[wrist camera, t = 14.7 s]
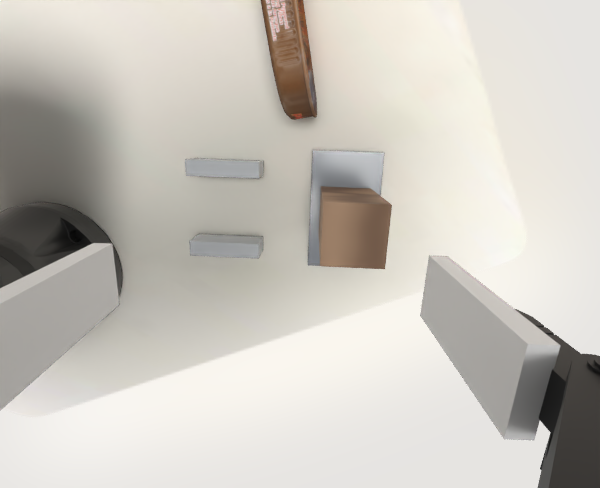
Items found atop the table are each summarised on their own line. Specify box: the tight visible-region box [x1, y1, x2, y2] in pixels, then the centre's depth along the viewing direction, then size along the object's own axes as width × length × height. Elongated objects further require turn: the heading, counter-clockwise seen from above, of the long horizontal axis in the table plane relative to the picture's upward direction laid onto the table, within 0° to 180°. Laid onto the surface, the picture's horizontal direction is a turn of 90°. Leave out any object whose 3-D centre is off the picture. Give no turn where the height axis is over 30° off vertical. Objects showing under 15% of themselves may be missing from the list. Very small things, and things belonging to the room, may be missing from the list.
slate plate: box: [308, 150, 384, 266], centre depth 36 cm, size 7×12×1 cm, turn 178°
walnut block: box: [319, 186, 392, 269], centre depth 31 cm, size 5×5×10 cm
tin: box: [261, 0, 317, 120], centre depth 29 cm, size 15×3×8 cm, turn 9°
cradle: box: [185, 158, 263, 258], centre depth 36 cm, size 7×10×3 cm
